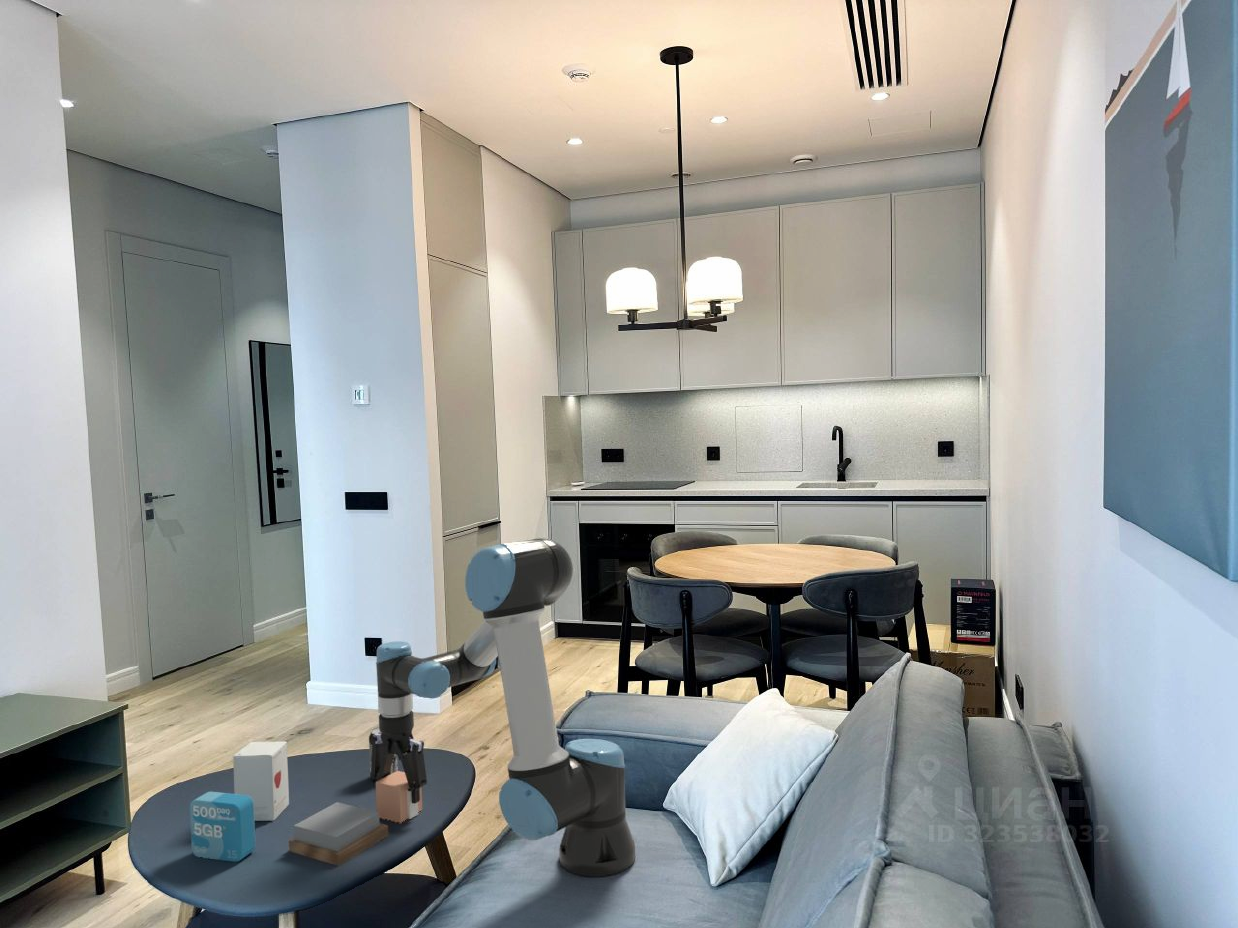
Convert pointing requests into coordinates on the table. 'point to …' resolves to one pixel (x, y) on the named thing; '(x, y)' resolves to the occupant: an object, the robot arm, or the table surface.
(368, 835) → the base block
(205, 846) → the data package
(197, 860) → the table surface
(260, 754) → the supplement box
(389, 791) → the terracotta block
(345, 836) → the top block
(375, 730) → the beverage can
